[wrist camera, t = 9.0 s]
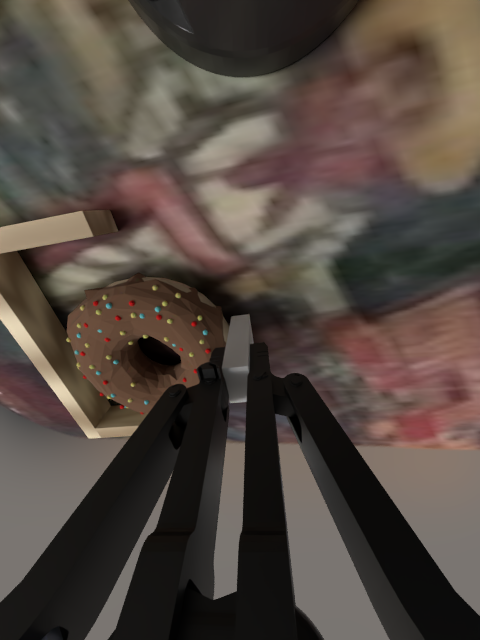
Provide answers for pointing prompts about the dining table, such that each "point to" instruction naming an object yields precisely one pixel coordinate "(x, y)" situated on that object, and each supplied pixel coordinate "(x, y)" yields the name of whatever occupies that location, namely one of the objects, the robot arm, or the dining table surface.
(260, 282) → the dining table surface
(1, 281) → the oak rail
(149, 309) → the donut
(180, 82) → the dining table surface
